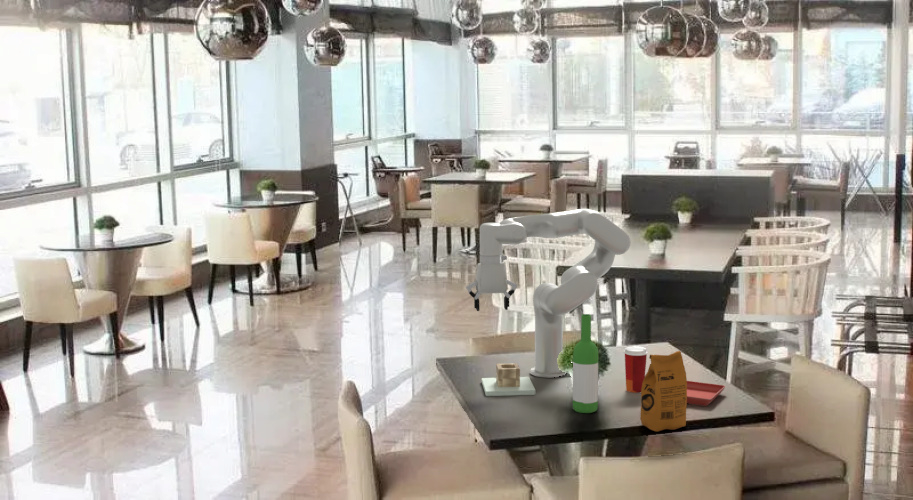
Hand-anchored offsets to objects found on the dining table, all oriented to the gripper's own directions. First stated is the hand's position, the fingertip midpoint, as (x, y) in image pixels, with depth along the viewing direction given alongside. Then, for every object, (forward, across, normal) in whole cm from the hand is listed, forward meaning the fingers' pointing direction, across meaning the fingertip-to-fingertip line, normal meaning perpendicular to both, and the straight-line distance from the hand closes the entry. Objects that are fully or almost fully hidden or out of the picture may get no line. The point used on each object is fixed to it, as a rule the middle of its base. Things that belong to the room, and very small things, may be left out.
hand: (491, 309), depth 378 cm
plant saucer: (+25, -58, +33) cm, 71 cm away
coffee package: (+24, -41, +59) cm, 76 cm away
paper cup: (+24, -43, +22) cm, 54 cm away
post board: (+24, -3, +13) cm, 27 cm away
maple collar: (+22, -3, +13) cm, 26 cm away
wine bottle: (+24, -22, +41) cm, 52 cm away
